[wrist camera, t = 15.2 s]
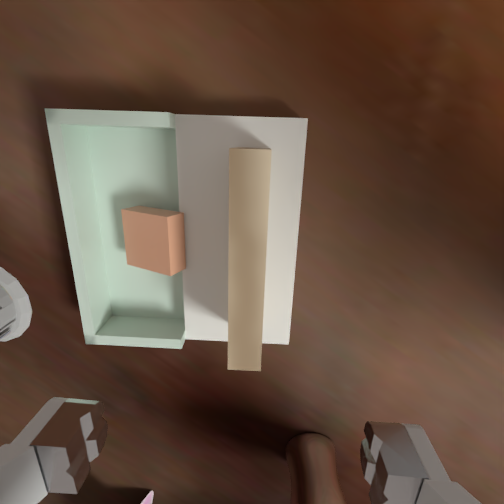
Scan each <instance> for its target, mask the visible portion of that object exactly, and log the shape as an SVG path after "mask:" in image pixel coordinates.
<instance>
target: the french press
mask: <svg viewBox="0 0 504 504" xmlns="http://www.w3.org/2000/svg"><path fill="white" fill-rule="evenodd" d="M31 315H32V309H31V305H30V301H29V297H28V295H27V293H26V292H25V290H24V289H23V287H22V286H21V285H20V283H19V282H18V280H17V279H16V278H14V277H13V276H12V275H10V274H9V273H8V272H7V271H5V270H4V269H3V268H1V267H0V341H8V340H11V339H14V338H16V337H19V336H21V335H22V333H23V332H24V331H25V330H26V329H27V328H28V327H29V325H30V320H31Z"/></svg>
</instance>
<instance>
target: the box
mask: <svg viewBox="0 0 504 504" xmlns="http://www.w3.org/2000/svg"><path fill="white" fill-rule="evenodd" d="M44 109H45V115H46V121H47V126H48V132H49V138H50V143H51V149H52V155H53V160H54V166H55V172H56V177H57V183H58V189H59V195H60V200H61V206H62V212H63V217H64V223H65V229H66V234H67V240H68V246H69V251H70V257H71V263H72V268H73V274H74V280H75V285H76V291H77V297H78V302H79V308H80V314H81V319H82V325H83V331H84V336H85V342H86V344H99V345H118V346H137V347H156V348H175V349H182V347H183V344H184V342H185V339H186V338H185V317H184V296H183V275H182V271H180V272H178V273H176V274H174V275H172V276H168V275H164V274H160V273H157V272H153V271H149V270H146V269H142V268H139V267H135V266H131V265H128V264H127V259H126V250H125V240H124V231H123V222H122V213H121V209H125V208H130V207H134V206H145V207H152V208H158V209H164V210H170V211H177V212H179V192H178V171H177V150H176V129H175V114H173V113H170V112H145V111H112V110H80V109H48V108H44Z"/></svg>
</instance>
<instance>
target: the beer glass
mask: <svg viewBox="0 0 504 504" xmlns="http://www.w3.org/2000/svg"><path fill="white" fill-rule="evenodd" d="M285 455H286V460H287V464H288V468H289V472H290V479H291V497H290V504H347V502H346V499H345V497H344V494H343V491H342V489H341V486H340V482H339V479H338V473H337V460H336V449H335V446H334V444H333V442H332V441H331V440H330V439H329V438H327V437H325V436H323V435H321V434H317V433H304V434H300V435H298V436H296V437H294V438H293V439H291V440H290V441H289V442H288V444H287V446H286V450H285Z"/></svg>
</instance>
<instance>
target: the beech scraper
mask: <svg viewBox="0 0 504 504" xmlns="http://www.w3.org/2000/svg"><path fill="white" fill-rule="evenodd" d="M271 151H272V150H271V149H270V148H249V147H235V148H229V254H228V369H229V370H248V371H261V352H262V332H263V312H264V292H265V271H266V251H267V231H268V211H269V191H270V171H271Z"/></svg>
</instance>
